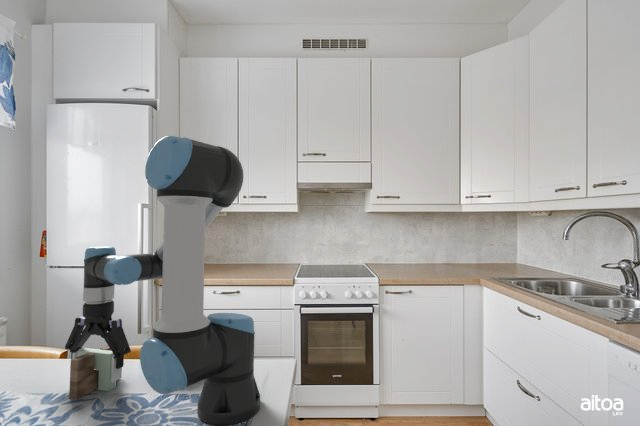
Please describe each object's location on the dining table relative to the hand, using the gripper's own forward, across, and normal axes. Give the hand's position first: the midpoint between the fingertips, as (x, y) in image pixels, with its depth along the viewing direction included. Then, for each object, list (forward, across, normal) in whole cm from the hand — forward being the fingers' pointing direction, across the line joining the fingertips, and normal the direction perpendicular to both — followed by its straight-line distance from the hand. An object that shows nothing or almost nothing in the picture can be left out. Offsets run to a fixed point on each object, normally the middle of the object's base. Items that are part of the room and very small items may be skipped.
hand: (96, 377), depth 97 cm
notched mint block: (+3, 0, 0) cm, 3 cm away
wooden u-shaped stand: (+3, 0, 0) cm, 3 cm away
